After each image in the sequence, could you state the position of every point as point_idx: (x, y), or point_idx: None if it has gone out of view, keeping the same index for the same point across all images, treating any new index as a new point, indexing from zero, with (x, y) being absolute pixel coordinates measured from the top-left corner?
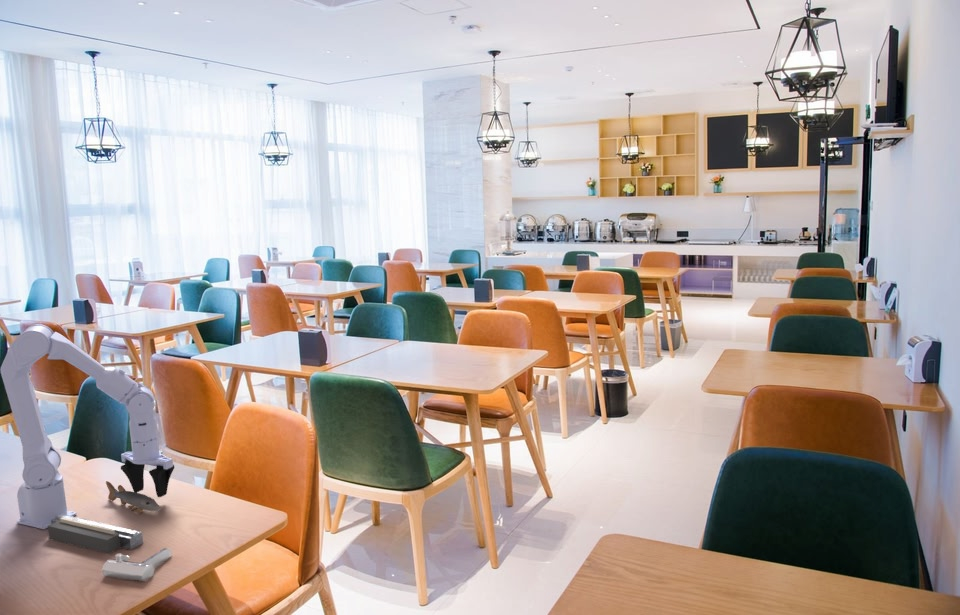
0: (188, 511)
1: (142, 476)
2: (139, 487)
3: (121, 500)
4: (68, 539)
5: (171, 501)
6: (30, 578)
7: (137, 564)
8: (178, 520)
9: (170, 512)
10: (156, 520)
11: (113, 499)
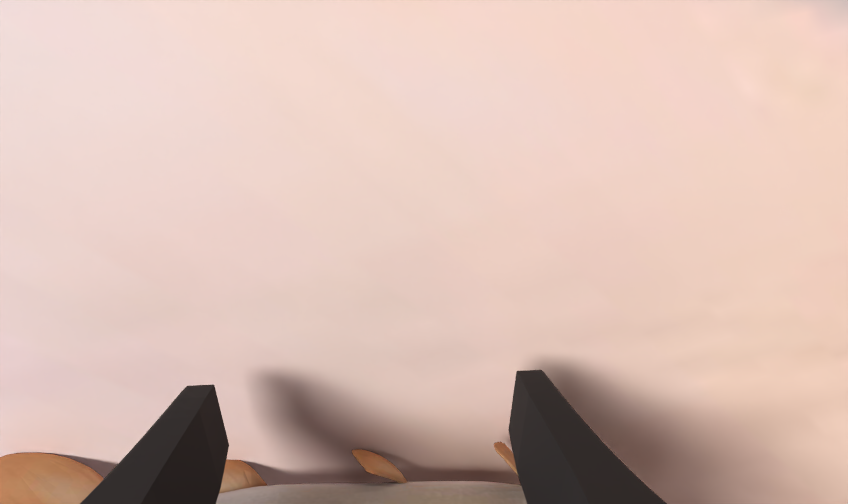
0: (805, 368)
1: (148, 500)
2: (212, 448)
3: None
4: None
5: (554, 304)
6: None
7: None
8: (798, 459)
9: (676, 417)
10: None
11: (82, 476)
